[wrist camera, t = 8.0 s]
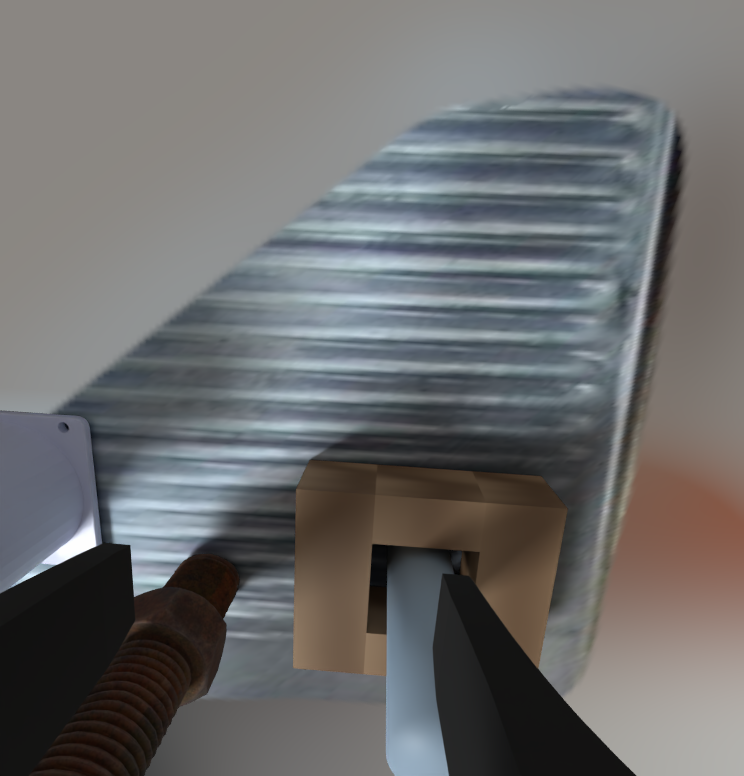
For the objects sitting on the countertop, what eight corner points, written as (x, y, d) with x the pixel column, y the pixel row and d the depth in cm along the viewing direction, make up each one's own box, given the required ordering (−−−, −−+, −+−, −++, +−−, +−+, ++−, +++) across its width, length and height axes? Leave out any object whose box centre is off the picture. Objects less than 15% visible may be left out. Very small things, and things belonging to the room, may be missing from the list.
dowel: (388, 573, 21) (387, 793, 12) (386, 520, 20) (384, 710, 11) (447, 573, 21) (493, 796, 12) (447, 519, 20) (497, 712, 11)
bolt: (171, 514, 21) (-339, 1038, 6) (268, 537, 21) (-12, 1109, 6) (157, 608, 22) (-286, 1219, 8) (249, 630, 22) (-17, 1277, 8)
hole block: (305, 617, 22) (292, 668, 19) (309, 459, 20) (295, 489, 17) (515, 634, 22) (534, 688, 19) (541, 476, 20) (567, 508, 17)
